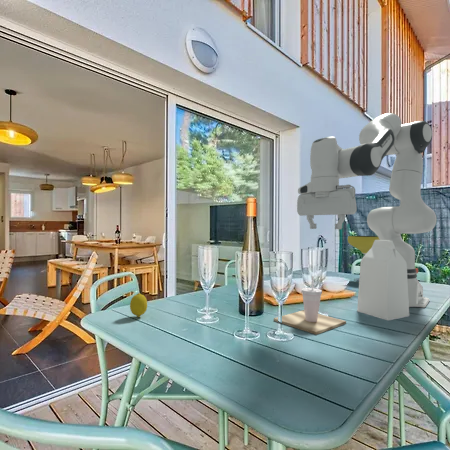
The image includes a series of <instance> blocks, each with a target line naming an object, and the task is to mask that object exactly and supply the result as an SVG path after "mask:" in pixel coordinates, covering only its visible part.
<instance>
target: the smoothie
mask: <svg viewBox="0 0 450 450" xmlns="http://www.w3.org/2000/svg"><path fill="white" fill-rule="evenodd" d="M314 281H315V279H314V276H311V287H304V288H301V293H302V301H303V310H304V312H305V320H306V321H309V322H316V321H317V320H318V314H319V311H320V304H321V296H322V294H323V290H322V289H319V288H315V287H314Z"/></svg>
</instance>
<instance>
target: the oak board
mask: <svg viewBox="0 0 450 450" xmlns="http://www.w3.org/2000/svg"><path fill="white" fill-rule="evenodd" d="M281 316H282V323H281V324H283V325H286V326H288V327H292V328H295V329H298V330H301V331H304V332H307V333H309V334H310V333H311V334H312V335H316V336H317V335H320V334H322V333H324V332H328V331H330V330H332V329H336V328H338V327H340V326H343V325H346V324H347V321H346V320H343V319H339V318H335V317H331V316H328V315H324V314H320V313H318V320H317V321H316V322H309V321H306V320H305V312H304V309H303V310H299V311H295V312H293V313H292V312H291V313H288V314H285V315H281ZM278 317H279V316H278ZM278 317H277V316H276V317H273V322H277V323H279V322H278Z"/></svg>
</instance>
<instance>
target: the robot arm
mask: <svg viewBox="0 0 450 450" xmlns="http://www.w3.org/2000/svg"><path fill="white" fill-rule="evenodd" d="M432 140H433V131H432V127H431V125H430V123H428V121H426V120H417V121H413V122H409V123H404V124H403V123H402V119H401V117H400V116H398V115H397V114H395V113H392V112H387V113H384V114H381V115H378V116H377V117H375V118H374V119H372V120H371V121H369V122H368V123H367V124H365V126H363V127H362V129H361V130H360V131H359V135H358V141H359V143H360V144H359V145H357V146H352V147H348V148H345V149H344V148H342V147H340V145H339V144H338V141H337V138H336V137H335V136H327V137H321V138H318V139H315V140H314V141H312V143H311V147H310V153H309V155H310V161H309V165H310V169H311V175H310V181H309V182H307V183H306V184H304V185H302V186H300V187H298V189H297V193H298V197H297V201H296V212H297V214H298V216H303V217H305V216H306V220H307V222H308V224H309V229H310V230H312V229H313V230H315V229H317V225H318V224H317V223H315V222H314V221H315V220H313V219H314V217H315V216H334V215H335V216H336V215H337V218H338V221H337V223H335V224H334V226H335V227H334V229H335V230H342V229H343V223H344V222H345V220H346V215H355V214H356V213H357V209H358V208H357V201H356V188H355V186H353V185H351V184H344V185H343V184H341V185H340V179H349V178H353V177H365V176H367V177H368V176H372V175H374V174H375V173H377V171H378V170H379V169H380V167H381V164H382V161H383V160H384V158H385V157H388V156H390V155H391V156H392V155H393V156H394V155H396V156H395V157H396V158H395V160H394V163H393V166H392V170H391V176H390V181H389V188H388V190H389V194H390V195H391V196H392V197H393V198H395V199H397V200H399V202H400V203H399V206H381V207H378V208H377V207H376V208H375V209H371V210H370V211H369V212H368V214H367V217H366V223H367V226H368V228H369V229H370V230H371V231H372V232H373V233H374V234H375V236H378V237H379V239H380V240H389V241H393V244H394V246H395V249H396V250H397V251H398V252H399V253H400V255H401V256H402V257H403V258H404V259H405V261H406V264H407V280H408V299H409V308H411V307H413V308H426V306H427V305H428V304H429V302H430V298H429V297H426V296H424V287H423V285H422V284H421V282H420V281H419V280H418V278H417V277H418V275H417V274H419V268H418V267H417V268H416V266H415V265H416V260H415V259H416V251H415V249H414V247H413V246H412V245H411V244H409V243H407V242H405V241H404V240H403V238H402V236H401V234H411V235H412V234H414V235H417V234H423V233H430V232H432V230H433V229H434V228H435V227H436V224H437V218H438V217H437V215H436V212H435V210H433V209H432V208H431V207H430V206H428V205H427V204H426V203H425V202H424V200H423V198H422V194H421V189H422V187H421V185H422V179H423V172H424V171H423V168H424V165H423V164H424V162H423V154H422V153H424V152H425V151H426V149H427V148H428V147H429V145H430V143H431V141H432Z"/></svg>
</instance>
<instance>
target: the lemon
mask: <svg viewBox="0 0 450 450" xmlns="http://www.w3.org/2000/svg"><path fill="white" fill-rule="evenodd" d="M129 308H130V312H131V313H132V314H133V315H134V316H136V317H137V318H140V317H141V316H143V315H144V314H145V313H146V312H147V308H148V299H147V298H146V296H145V295H144V294H141V292H137V294H134V295H133V297H131V299H130V303H129Z"/></svg>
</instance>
